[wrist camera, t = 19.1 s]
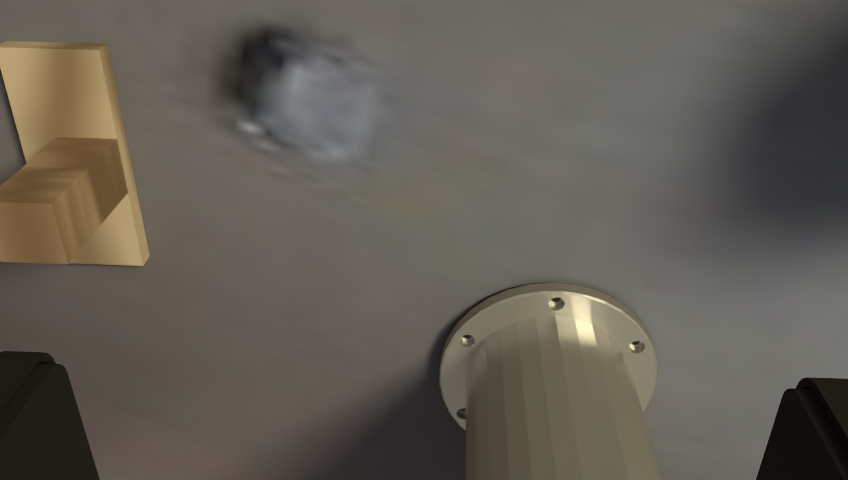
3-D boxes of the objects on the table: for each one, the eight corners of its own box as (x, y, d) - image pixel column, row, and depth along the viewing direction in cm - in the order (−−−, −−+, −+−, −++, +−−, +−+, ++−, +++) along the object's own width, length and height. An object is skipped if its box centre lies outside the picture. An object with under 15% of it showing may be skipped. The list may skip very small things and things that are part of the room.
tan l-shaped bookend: (109, 42, 37) (24, 102, 30) (150, 254, 43) (89, 345, 36) (7, 40, 37) (-100, 98, 30) (63, 251, 43) (-16, 340, 36)
